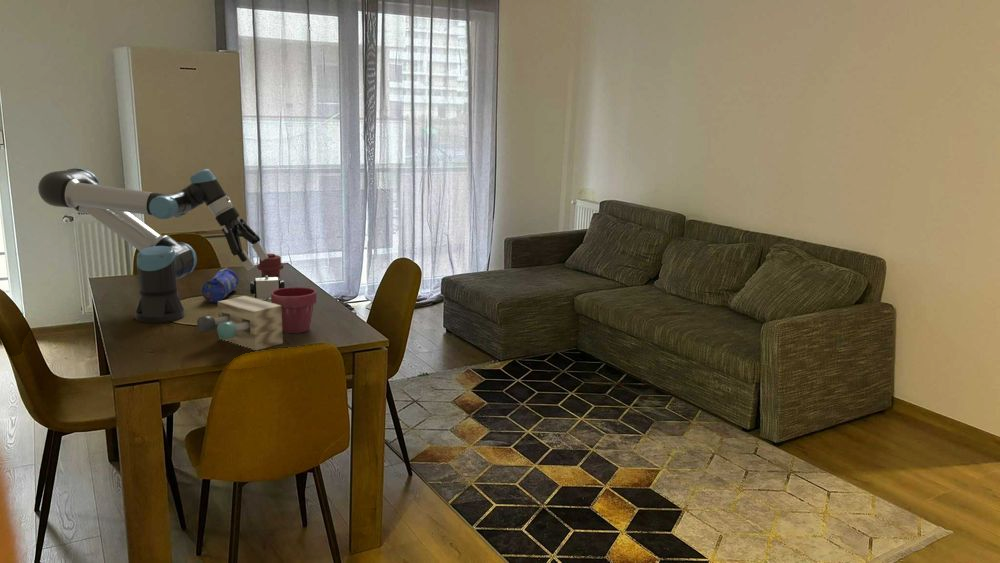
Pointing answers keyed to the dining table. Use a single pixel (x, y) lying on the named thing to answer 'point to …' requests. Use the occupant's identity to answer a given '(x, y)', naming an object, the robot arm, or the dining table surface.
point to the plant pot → (295, 307)
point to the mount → (253, 321)
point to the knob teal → (231, 329)
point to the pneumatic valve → (265, 287)
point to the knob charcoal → (210, 322)
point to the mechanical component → (270, 266)
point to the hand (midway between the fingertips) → (258, 263)
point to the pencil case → (220, 285)
